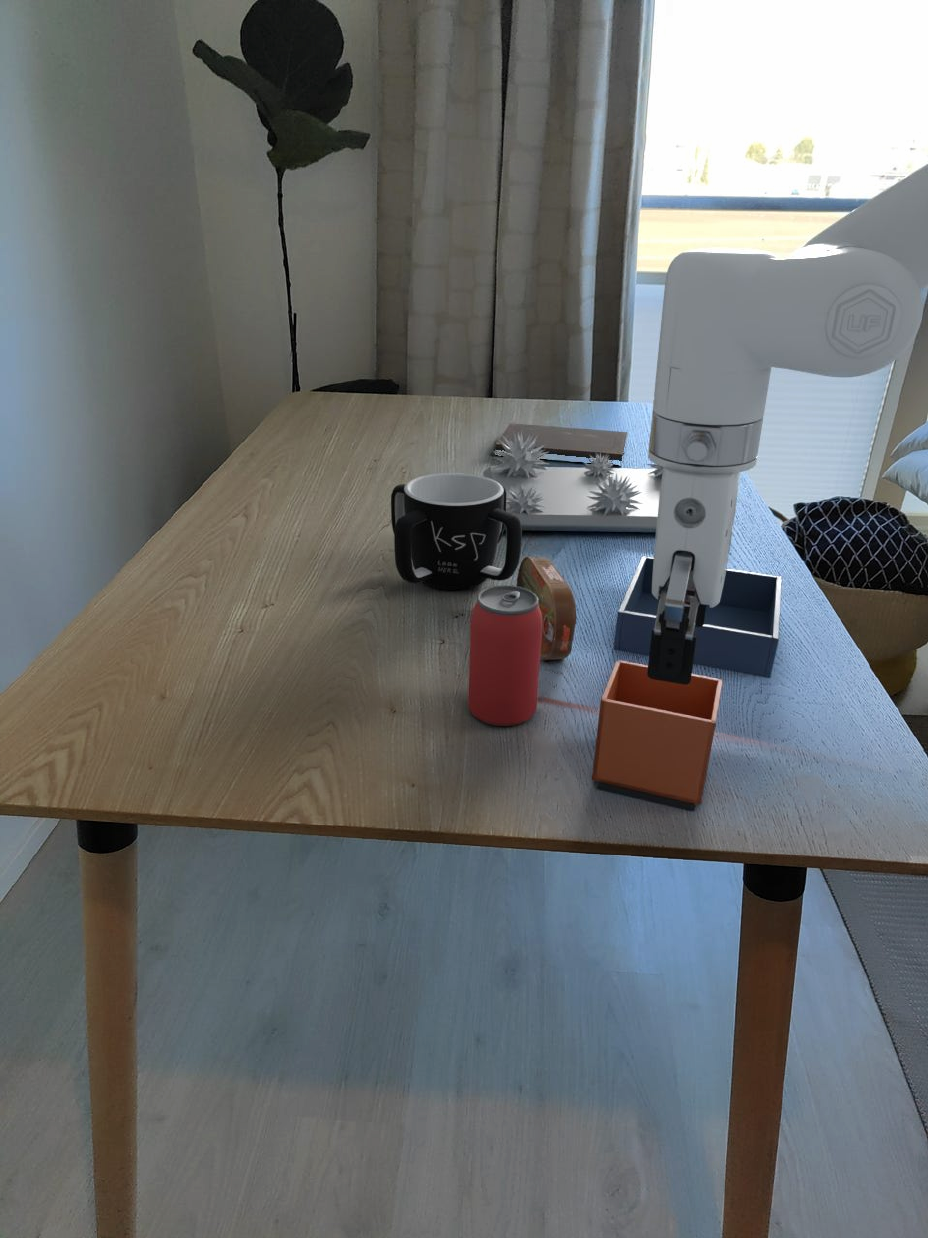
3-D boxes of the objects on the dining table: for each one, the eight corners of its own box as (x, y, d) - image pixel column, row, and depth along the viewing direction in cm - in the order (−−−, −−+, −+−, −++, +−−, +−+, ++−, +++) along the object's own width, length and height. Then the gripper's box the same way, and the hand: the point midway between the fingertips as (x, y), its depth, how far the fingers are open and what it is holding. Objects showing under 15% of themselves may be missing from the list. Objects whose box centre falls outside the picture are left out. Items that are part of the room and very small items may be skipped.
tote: (774, 615, 101) (782, 576, 99) (769, 682, 88) (778, 639, 85) (637, 593, 106) (642, 555, 104) (612, 653, 92) (617, 611, 90)
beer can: (547, 704, 83) (556, 593, 78) (516, 737, 78) (523, 621, 73) (488, 685, 86) (493, 576, 80) (455, 716, 81) (457, 602, 75)
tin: (512, 610, 101) (516, 544, 97) (538, 609, 101) (543, 543, 98) (546, 676, 88) (552, 602, 84) (575, 674, 88) (583, 600, 84)
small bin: (708, 756, 75) (723, 679, 72) (700, 805, 70) (715, 723, 66) (607, 735, 78) (616, 659, 74) (591, 780, 72) (600, 700, 68)
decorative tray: (490, 537, 121) (492, 469, 117) (482, 480, 144) (484, 421, 140) (733, 540, 122) (745, 472, 118) (687, 482, 145) (696, 424, 141)
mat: (703, 756, 76) (704, 752, 76) (694, 811, 69) (694, 807, 69) (614, 737, 78) (615, 733, 78) (597, 789, 72) (597, 785, 72)
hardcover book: (509, 434, 170) (510, 423, 169) (626, 443, 166) (627, 431, 165) (494, 456, 156) (494, 444, 155) (621, 467, 152) (622, 454, 151)
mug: (382, 603, 102) (380, 508, 96) (393, 551, 116) (392, 465, 111) (519, 606, 102) (524, 511, 96) (513, 554, 116) (518, 468, 111)
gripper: (752, 480, 52) (715, 715, 60) (764, 415, 67) (732, 611, 74) (629, 468, 54) (609, 696, 62) (666, 407, 69) (646, 598, 77)
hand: (676, 649), depth 68 cm, fingers open, 9 cm apart
